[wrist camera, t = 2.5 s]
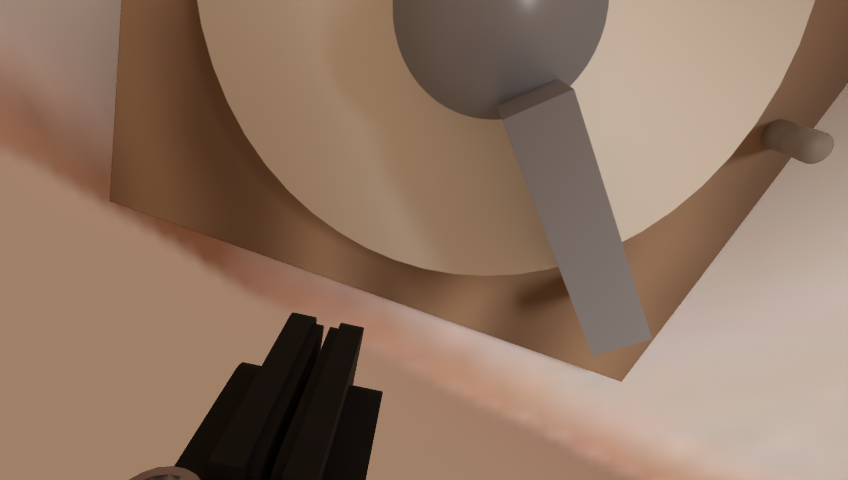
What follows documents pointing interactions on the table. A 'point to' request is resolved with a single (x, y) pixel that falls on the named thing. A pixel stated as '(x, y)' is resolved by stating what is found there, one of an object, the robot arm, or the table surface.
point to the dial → (503, 123)
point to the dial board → (403, 283)
